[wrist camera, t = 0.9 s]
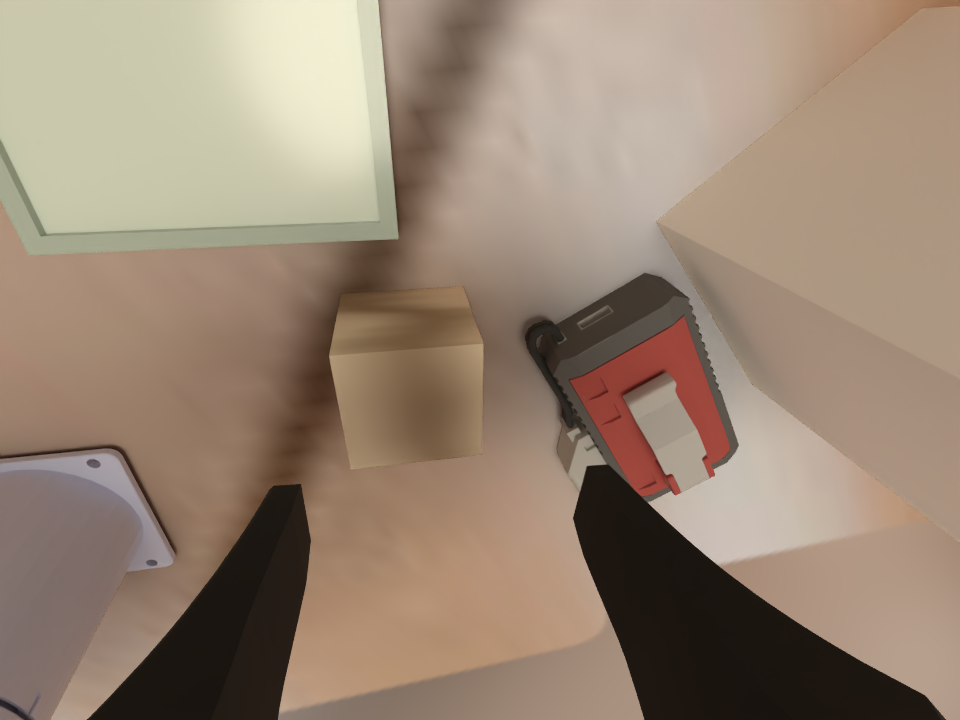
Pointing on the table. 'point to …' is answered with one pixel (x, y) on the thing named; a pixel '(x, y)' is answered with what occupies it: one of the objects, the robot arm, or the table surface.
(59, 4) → the sage tile
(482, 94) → the table surface
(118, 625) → the table surface
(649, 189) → the table surface
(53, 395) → the table surface
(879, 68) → the milk
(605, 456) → the walkie-talkie
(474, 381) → the beech cube
